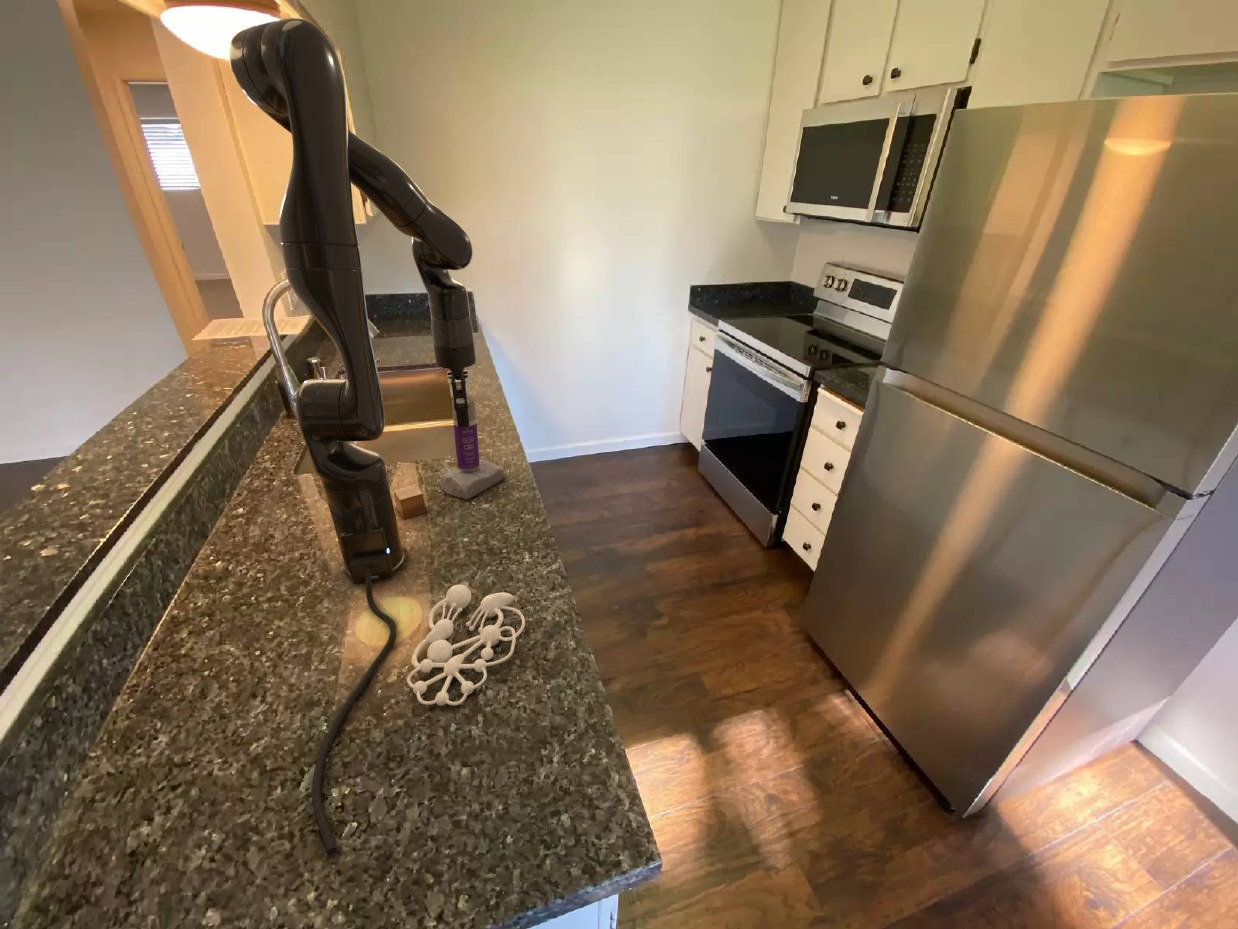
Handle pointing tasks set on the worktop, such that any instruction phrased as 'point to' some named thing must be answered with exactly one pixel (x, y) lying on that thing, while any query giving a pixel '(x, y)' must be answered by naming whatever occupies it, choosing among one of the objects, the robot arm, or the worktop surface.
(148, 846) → the worktop surface
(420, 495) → the oak cube
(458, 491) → the stone block
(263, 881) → the worktop surface
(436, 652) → the tangled rod sculpture
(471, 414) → the container
